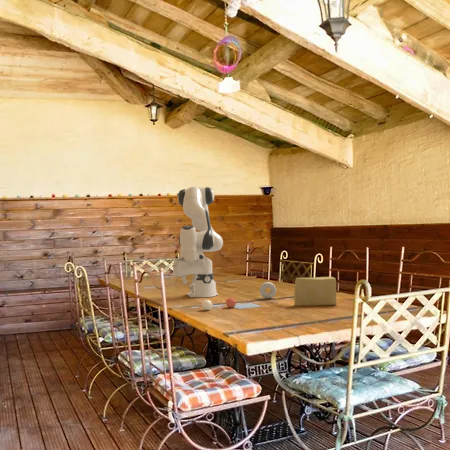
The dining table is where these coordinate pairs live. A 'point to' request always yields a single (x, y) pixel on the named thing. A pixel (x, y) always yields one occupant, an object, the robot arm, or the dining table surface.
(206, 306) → the cue ball
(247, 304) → the mark
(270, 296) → the donut
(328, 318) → the dining table surface
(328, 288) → the olive tan box
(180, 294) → the dining table surface
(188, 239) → the robot arm
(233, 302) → the red ball
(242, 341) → the dining table surface
